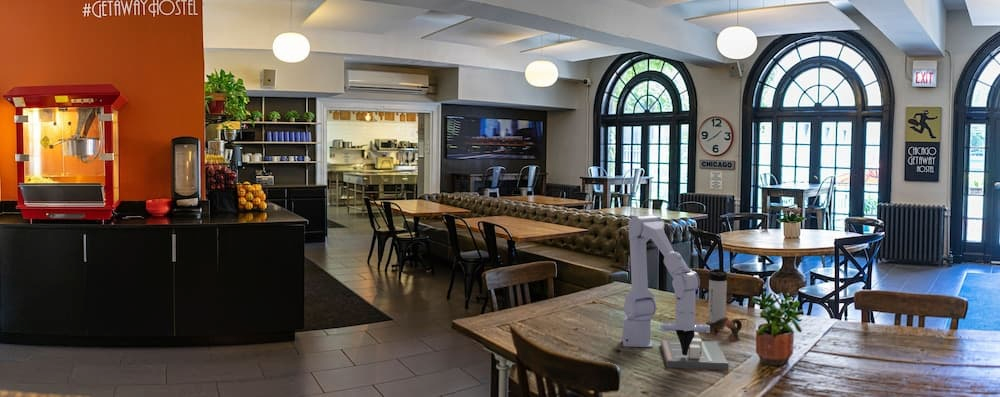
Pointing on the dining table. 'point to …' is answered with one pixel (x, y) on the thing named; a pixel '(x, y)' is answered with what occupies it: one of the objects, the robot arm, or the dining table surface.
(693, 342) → the block
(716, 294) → the travel mug
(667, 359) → the panel
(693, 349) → the block
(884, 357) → the dining table surface
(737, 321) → the pottery mug
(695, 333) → the block
